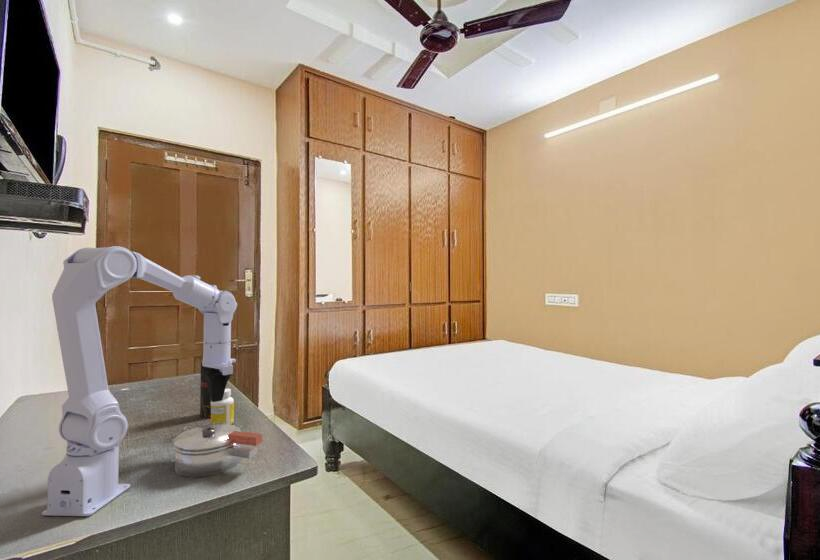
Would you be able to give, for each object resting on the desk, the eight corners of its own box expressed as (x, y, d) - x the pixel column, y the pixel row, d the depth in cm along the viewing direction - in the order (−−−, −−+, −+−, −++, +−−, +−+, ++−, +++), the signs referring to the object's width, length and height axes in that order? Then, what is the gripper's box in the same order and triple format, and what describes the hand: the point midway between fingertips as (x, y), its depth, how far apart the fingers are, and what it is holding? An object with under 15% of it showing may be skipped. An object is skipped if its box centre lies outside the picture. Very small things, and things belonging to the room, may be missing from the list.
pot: (149, 471, 80) (149, 446, 80) (199, 446, 92) (199, 424, 92) (230, 486, 74) (231, 459, 74) (272, 457, 86) (272, 434, 86)
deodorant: (206, 419, 110) (207, 365, 110) (196, 415, 113) (196, 362, 113) (227, 414, 114) (227, 361, 114) (216, 409, 118) (217, 359, 118)
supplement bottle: (227, 422, 107) (228, 386, 107) (237, 427, 104) (238, 390, 104) (206, 428, 103) (207, 390, 103) (216, 433, 100) (217, 394, 100)
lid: (159, 447, 79) (159, 438, 79) (205, 425, 91) (205, 417, 91) (238, 458, 74) (238, 448, 74) (276, 433, 86) (276, 425, 86)
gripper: (247, 344, 90) (246, 404, 90) (224, 337, 101) (223, 391, 101) (213, 347, 85) (213, 411, 85) (193, 339, 96) (192, 396, 96)
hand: (216, 400), depth 92 cm, fingers closed
